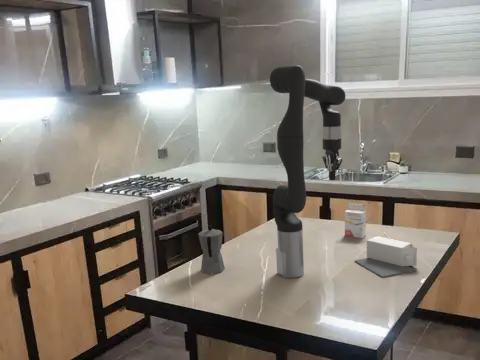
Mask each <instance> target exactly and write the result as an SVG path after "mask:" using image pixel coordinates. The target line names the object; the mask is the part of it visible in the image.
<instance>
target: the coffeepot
mask: <svg viewBox="0 0 480 360" xmlns="http://www.w3.org/2000/svg"><path fill="white" fill-rule="evenodd" d="M207 228H208V229H206V230H202V231H200V232H199V233H198V239H199V243H200V247H201V250H202V253H203V254H202V258H201V268H200V271H201V272H202V273H203V274H206V275H216V274H219V273H222V272H224V270H225V268H226V267H225V264H224V258H223V256H222V255H223V254H222V253H221V250H222V246H223V245H222V244H223V231H221V229H215V228H213V225H208V226H207Z"/></svg>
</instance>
